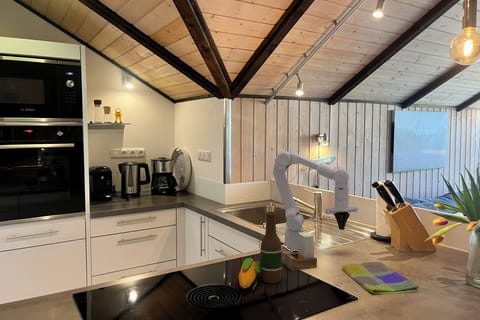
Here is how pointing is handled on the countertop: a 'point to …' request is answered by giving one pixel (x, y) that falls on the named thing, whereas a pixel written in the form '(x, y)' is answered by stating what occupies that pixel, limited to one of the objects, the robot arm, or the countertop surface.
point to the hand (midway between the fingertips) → (341, 229)
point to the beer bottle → (271, 252)
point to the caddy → (297, 261)
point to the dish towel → (379, 278)
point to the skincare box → (305, 245)
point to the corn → (249, 273)
